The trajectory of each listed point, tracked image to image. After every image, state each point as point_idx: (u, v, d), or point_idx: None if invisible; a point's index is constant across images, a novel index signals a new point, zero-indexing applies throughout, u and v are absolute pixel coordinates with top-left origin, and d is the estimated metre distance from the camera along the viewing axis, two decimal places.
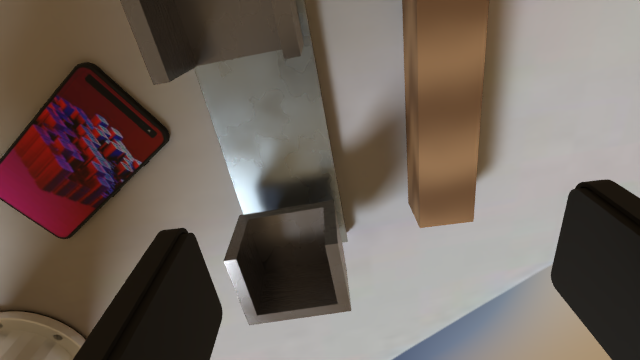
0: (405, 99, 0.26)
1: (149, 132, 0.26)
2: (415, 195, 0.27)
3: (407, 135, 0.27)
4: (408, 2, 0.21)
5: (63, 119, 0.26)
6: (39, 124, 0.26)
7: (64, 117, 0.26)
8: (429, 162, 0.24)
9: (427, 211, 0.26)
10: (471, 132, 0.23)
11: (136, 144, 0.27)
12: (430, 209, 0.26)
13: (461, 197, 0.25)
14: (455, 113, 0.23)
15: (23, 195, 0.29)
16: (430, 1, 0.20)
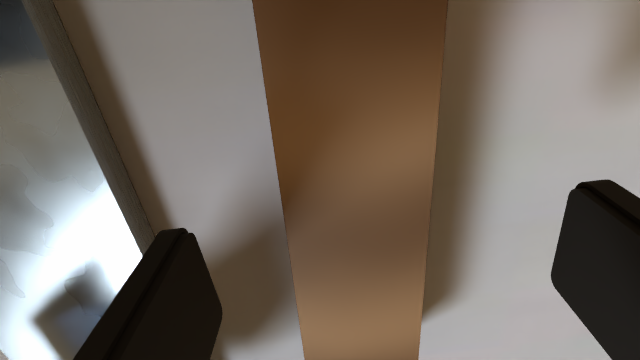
0: None
1: None
2: None
3: None
4: None
5: None
6: None
7: None
8: (321, 329, 0.12)
9: None
10: (407, 282, 0.11)
11: None
12: None
13: None
14: (370, 248, 0.10)
15: None
16: None
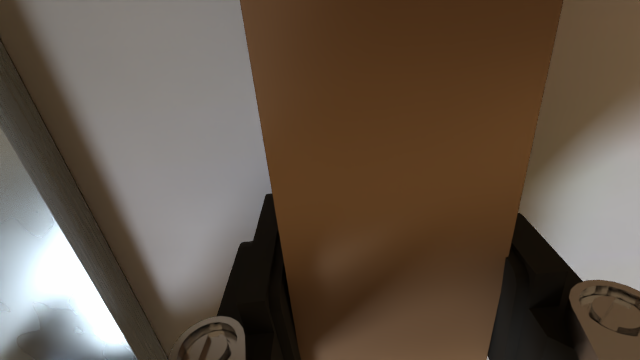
0: None
1: None
2: None
3: None
4: None
5: None
6: None
7: None
8: None
9: None
10: None
11: None
12: None
13: None
14: (411, 334, 0.07)
15: None
16: None
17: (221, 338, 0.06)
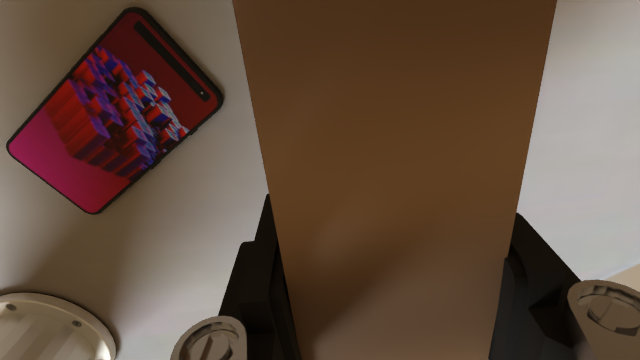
0: None
1: (202, 95, 0.23)
2: None
3: None
4: None
5: (104, 74, 0.22)
6: (75, 79, 0.22)
7: (105, 72, 0.22)
8: None
9: None
10: None
11: (185, 108, 0.23)
12: None
13: None
14: (412, 334, 0.07)
15: (50, 162, 0.25)
16: None
17: (223, 338, 0.06)
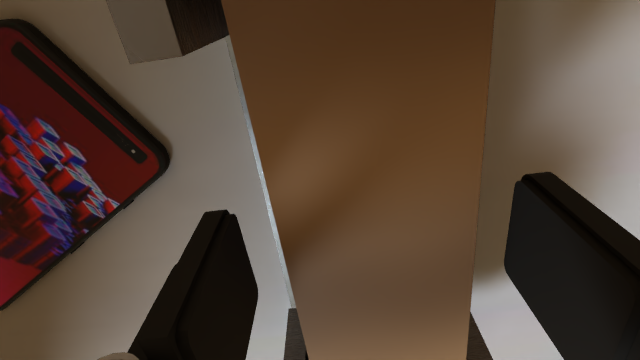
0: None
1: (133, 154, 0.14)
2: None
3: None
4: None
5: None
6: None
7: None
8: None
9: None
10: (445, 339, 0.09)
11: (110, 173, 0.15)
12: None
13: None
14: (398, 303, 0.08)
15: None
16: None
17: None
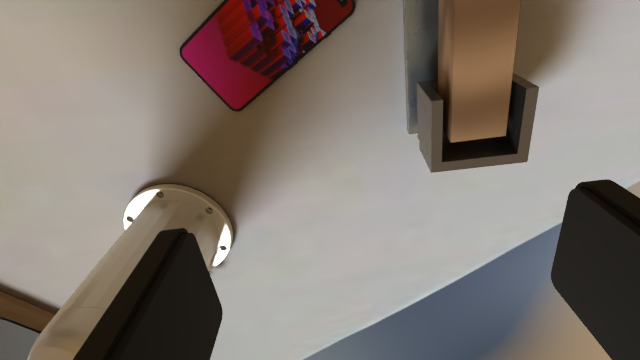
0: (439, 10, 0.26)
1: (341, 1, 0.29)
2: (447, 110, 0.27)
3: (440, 49, 0.27)
4: None
5: None
6: None
7: None
8: (463, 69, 0.24)
9: (458, 124, 0.26)
10: (508, 35, 0.23)
11: (326, 13, 0.29)
12: (462, 122, 0.26)
13: (494, 108, 0.25)
14: (492, 14, 0.22)
15: (211, 63, 0.32)
16: None
17: None
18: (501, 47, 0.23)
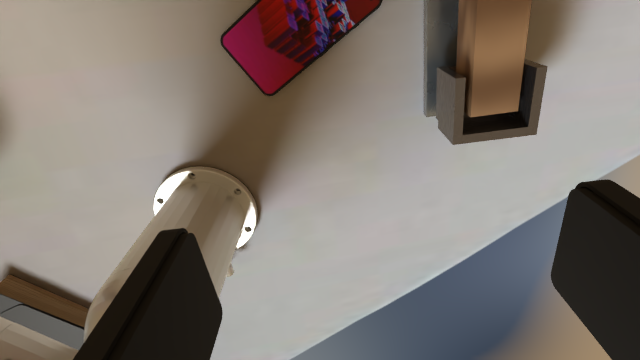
0: (460, 1, 0.29)
1: None
2: (466, 89, 0.30)
3: (460, 36, 0.30)
4: None
5: None
6: None
7: None
8: (483, 50, 0.28)
9: (478, 100, 0.30)
10: (522, 21, 0.27)
11: (356, 6, 0.33)
12: (480, 98, 0.30)
13: (508, 86, 0.29)
14: (509, 2, 0.26)
15: (249, 50, 0.35)
16: None
17: None
18: (516, 31, 0.27)
